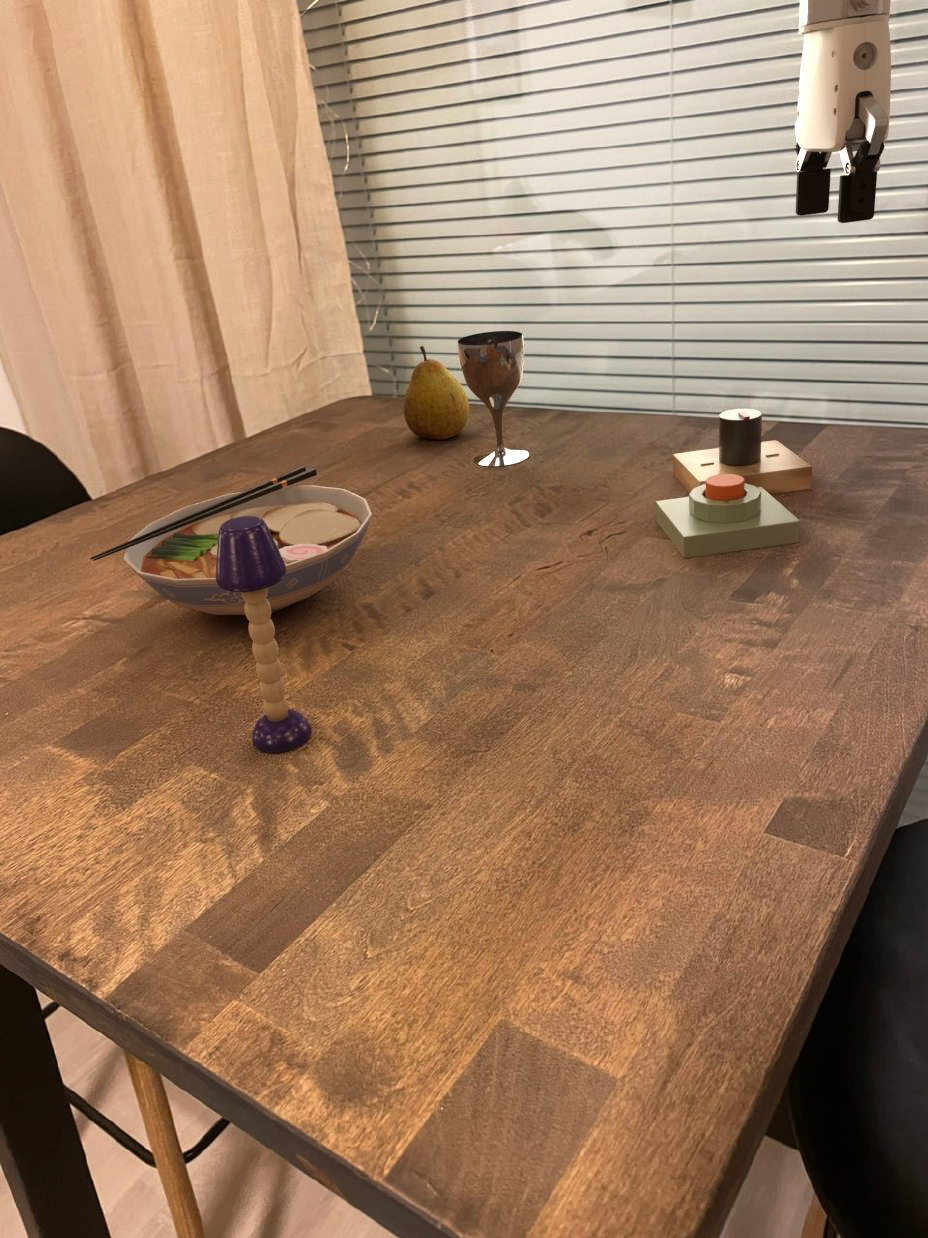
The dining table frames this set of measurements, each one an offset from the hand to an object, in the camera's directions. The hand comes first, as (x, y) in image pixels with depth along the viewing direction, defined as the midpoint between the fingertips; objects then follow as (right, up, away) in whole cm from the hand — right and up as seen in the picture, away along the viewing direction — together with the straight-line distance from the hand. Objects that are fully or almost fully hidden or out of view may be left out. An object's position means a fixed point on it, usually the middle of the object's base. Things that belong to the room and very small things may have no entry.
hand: (832, 217), depth 93 cm
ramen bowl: (-54, -37, -1) cm, 66 cm away
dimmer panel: (-5, -23, +13) cm, 28 cm away
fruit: (-39, -13, +43) cm, 59 cm away
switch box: (-10, -30, +2) cm, 32 cm away
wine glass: (-31, -18, +31) cm, 47 cm away
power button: (-10, -27, 0) cm, 29 cm away
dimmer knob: (-5, -21, +12) cm, 25 cm away
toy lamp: (-48, -47, -23) cm, 71 cm away
